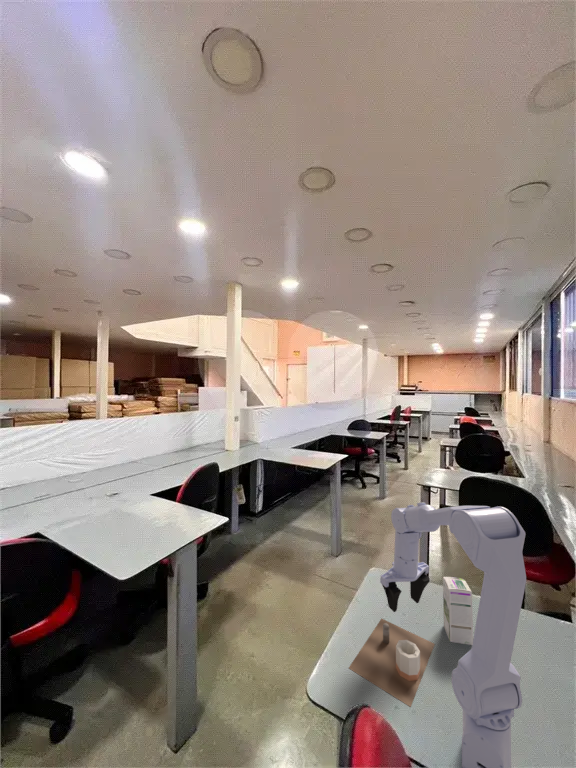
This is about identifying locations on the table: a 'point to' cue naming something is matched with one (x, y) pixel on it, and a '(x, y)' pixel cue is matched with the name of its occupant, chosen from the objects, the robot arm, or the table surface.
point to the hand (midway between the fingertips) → (403, 604)
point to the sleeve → (408, 660)
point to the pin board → (390, 660)
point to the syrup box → (458, 610)
